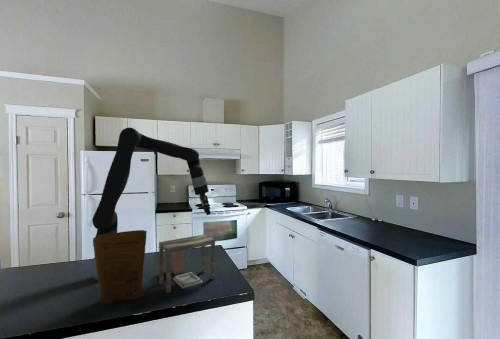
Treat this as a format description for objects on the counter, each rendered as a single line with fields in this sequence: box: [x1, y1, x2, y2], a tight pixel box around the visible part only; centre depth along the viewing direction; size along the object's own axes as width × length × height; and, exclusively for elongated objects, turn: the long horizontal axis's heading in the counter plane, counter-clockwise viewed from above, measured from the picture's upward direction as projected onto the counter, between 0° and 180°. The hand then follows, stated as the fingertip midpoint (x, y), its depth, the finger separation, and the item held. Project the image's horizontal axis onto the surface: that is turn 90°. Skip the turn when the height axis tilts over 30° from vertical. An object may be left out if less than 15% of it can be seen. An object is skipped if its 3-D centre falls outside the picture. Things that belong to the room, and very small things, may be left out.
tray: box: [172, 271, 204, 289], centre depth 117 cm, size 12×10×2 cm
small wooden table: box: [158, 234, 216, 294], centre depth 117 cm, size 12×23×19 cm, turn 127°
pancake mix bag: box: [92, 229, 148, 304], centre depth 100 cm, size 7×19×28 cm, turn 106°
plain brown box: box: [171, 250, 185, 276], centre depth 129 cm, size 7×5×12 cm
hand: (207, 213), depth 136 cm, fingers open, 8 cm apart
